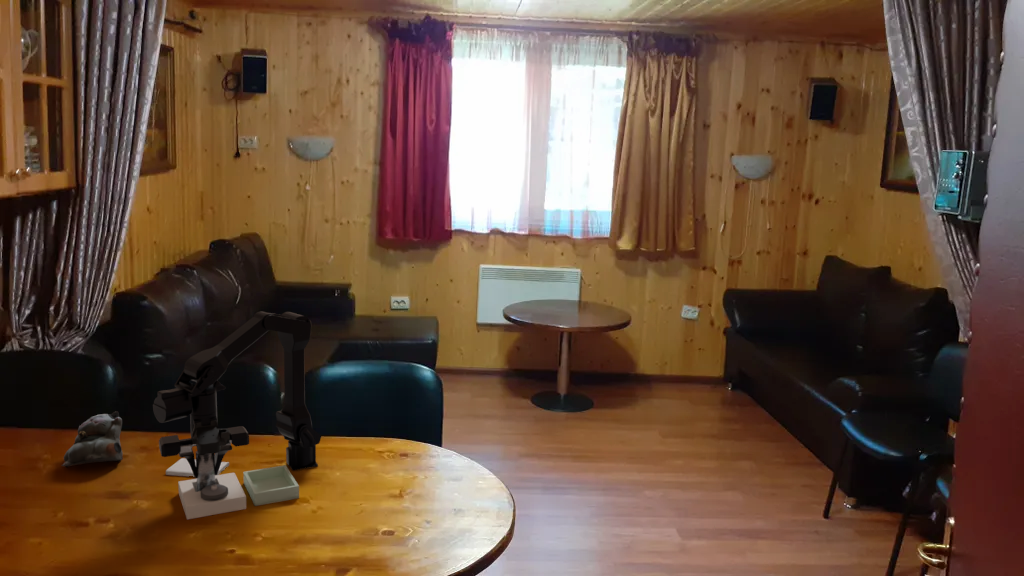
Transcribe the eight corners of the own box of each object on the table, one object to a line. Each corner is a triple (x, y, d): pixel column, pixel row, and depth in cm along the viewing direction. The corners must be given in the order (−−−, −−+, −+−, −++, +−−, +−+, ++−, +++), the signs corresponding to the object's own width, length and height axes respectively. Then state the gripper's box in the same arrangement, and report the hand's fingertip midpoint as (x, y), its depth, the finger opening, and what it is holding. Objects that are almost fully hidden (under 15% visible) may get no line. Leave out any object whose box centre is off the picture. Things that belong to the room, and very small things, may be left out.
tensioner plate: (234, 484, 194) (234, 463, 193) (246, 508, 182) (245, 486, 181) (178, 493, 188) (177, 471, 187) (186, 519, 176) (186, 496, 175)
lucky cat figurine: (50, 468, 198) (56, 411, 203) (93, 470, 209) (98, 416, 213) (92, 462, 193) (98, 404, 197) (135, 465, 203) (139, 410, 207)
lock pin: (214, 487, 189) (212, 447, 187) (217, 494, 186) (215, 453, 184) (196, 490, 187) (194, 449, 185) (198, 497, 184) (197, 456, 182)
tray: (285, 476, 199) (285, 465, 199) (299, 497, 188) (298, 485, 187) (243, 483, 194) (243, 471, 194) (255, 506, 183) (254, 493, 183)
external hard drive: (182, 463, 206) (229, 467, 205) (165, 476, 198) (214, 480, 197) (182, 457, 205) (229, 461, 204) (165, 470, 197) (214, 474, 196)
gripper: (162, 429, 171) (165, 497, 174) (253, 417, 180) (254, 482, 183) (157, 412, 181) (160, 477, 184) (243, 402, 190) (245, 464, 193)
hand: (205, 476), depth 186 cm, fingers closed on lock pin, 4 cm apart
